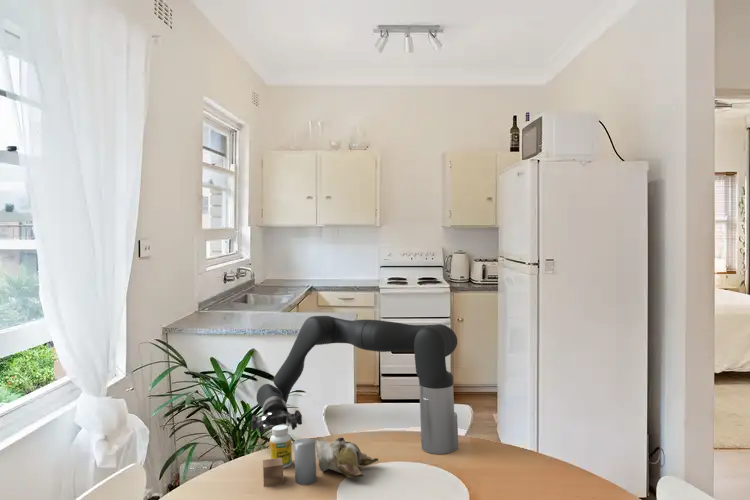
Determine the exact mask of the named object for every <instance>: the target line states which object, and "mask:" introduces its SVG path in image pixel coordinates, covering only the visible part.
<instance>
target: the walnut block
mask: <svg viewBox="0 0 750 500" xmlns="http://www.w3.org/2000/svg"><path fill="white" fill-rule="evenodd" d="M262 479H263V487H264V488H265V487H270V486H277V485H278V486H279V485H283V484H284V468H283V462H282V458H275V459H271V458H269V459H262Z"/></svg>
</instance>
